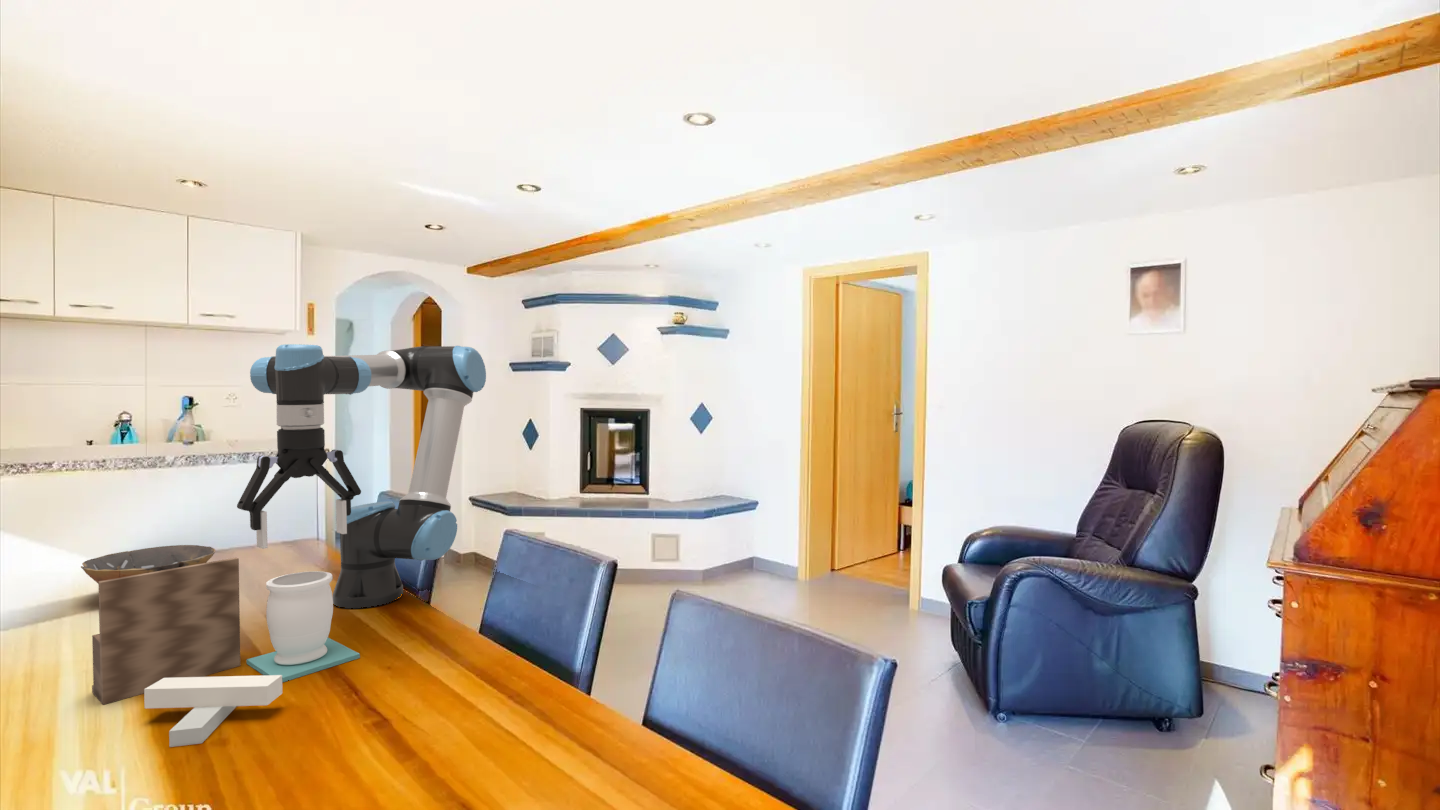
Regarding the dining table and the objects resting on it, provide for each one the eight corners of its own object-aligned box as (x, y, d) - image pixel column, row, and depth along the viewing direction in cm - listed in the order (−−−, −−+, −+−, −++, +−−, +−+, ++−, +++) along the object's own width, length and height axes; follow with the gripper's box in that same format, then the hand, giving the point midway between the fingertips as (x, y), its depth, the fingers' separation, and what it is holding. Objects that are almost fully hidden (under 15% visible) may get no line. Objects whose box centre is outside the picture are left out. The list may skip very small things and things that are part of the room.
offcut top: (144, 708, 102) (144, 689, 102) (164, 696, 106) (163, 677, 106) (267, 705, 104) (267, 686, 103) (282, 693, 108) (282, 675, 107)
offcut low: (226, 695, 113) (225, 677, 113) (253, 692, 114) (253, 675, 114) (169, 751, 96) (169, 731, 96) (202, 747, 97) (201, 727, 97)
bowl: (233, 592, 166) (232, 552, 166) (102, 621, 146) (101, 576, 145) (191, 575, 180) (190, 539, 180) (66, 600, 159) (65, 559, 159)
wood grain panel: (226, 656, 127) (224, 552, 127) (240, 665, 123) (238, 558, 123) (92, 692, 112) (89, 575, 112) (102, 704, 108) (100, 582, 107)
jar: (262, 673, 118) (261, 589, 118) (271, 651, 127) (270, 574, 127) (331, 662, 123) (330, 581, 123) (335, 642, 132) (334, 567, 132)
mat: (326, 640, 135) (326, 636, 135) (359, 657, 127) (359, 653, 127) (246, 663, 124) (246, 659, 124) (277, 684, 116) (277, 679, 116)
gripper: (229, 432, 112) (232, 557, 113) (378, 424, 132) (380, 530, 133) (213, 430, 116) (216, 550, 117) (360, 422, 136) (362, 525, 137)
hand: (303, 539), depth 125 cm, fingers open, 13 cm apart
